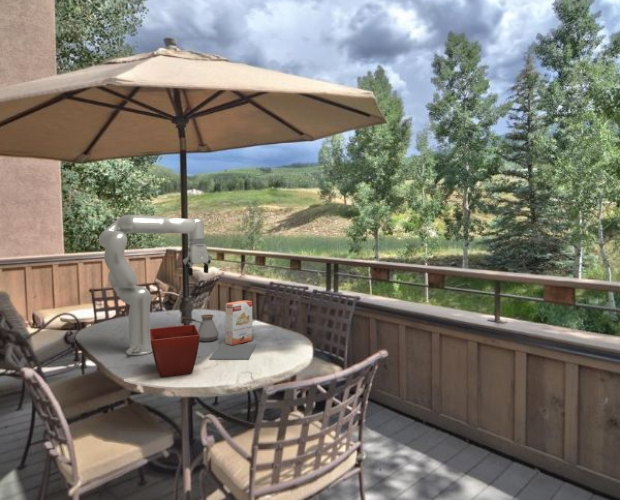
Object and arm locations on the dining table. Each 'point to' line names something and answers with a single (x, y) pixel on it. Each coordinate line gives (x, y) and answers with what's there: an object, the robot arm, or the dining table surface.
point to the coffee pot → (206, 328)
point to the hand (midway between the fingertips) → (198, 274)
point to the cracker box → (238, 322)
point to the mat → (233, 352)
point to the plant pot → (175, 349)
